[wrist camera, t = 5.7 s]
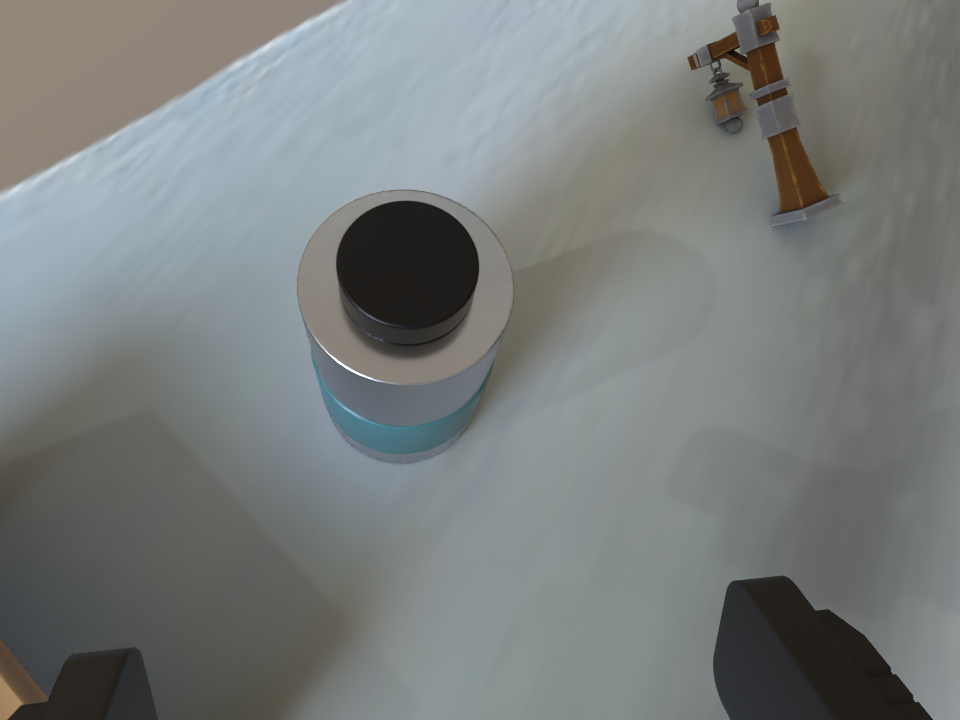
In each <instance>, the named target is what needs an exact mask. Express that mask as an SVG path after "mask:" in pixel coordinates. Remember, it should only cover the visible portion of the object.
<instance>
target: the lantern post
mask: <svg viewBox="0 0 960 720" xmlns="http://www.w3.org/2000/svg"><path fill="white" fill-rule="evenodd" d="M758 5H759V0H738V2H737V8H738V11H739V12H740V13H741V14H739V15H737V16H735V17H733V18H732V21H733V23H734V25H735V29H736V32H734V33H732V34H731V35H729V36H727V37H725V38H723V39H721V40H719V41H716V42H714V43H711V44H708V45H705V46H704V47H702V48H700V49H698V50H696V53H694V54H693V55H691V56H689V57H687V58H688V61H689V64H690V67H691V70H694V69H697V68H700V67H703V66H705V65H708V64H709V66H710V68H711V70H712V71H714V72H713V74H714V77H713V78H712V79H711V81H710V82H709V83H714V82H716V84H715V85H714V86H713V87H715V89H714V91H713V92H712V93H711V94H710V95H709V96H708V97H707V98H705V101H708V100H710V99H711V101H712V103H713V107H714V111H715V115H716V123H715V125H718V124H721V123H723V122H726V121H727V122H726V129H727V131H728V132H729V133H732V134H735V133H738V132H739V131H740V130H741V129H742V127H743V122H742V120H741V119H740V118H739V117H738V116H741V115H743V114H745V113H748V112H749V110H747V109H746V108H745V106H744V104H743V101H742V99H741V96H740V94H739V89H738V88H739V87H741V86H743V83H728V81H729V79H727V80H724V78H726V77H727V76H728V75H730V73H722V70H721V69H720V68H721V63H720V59H724V58H726V59H728V60H730V61H731V62H733V63H735V64H737V65H739V66H741V67H743V68H745V69H747V70H748V71H750V73H751V77H752V82H753V86H754V91H753V92H751V93H750V95H751V101H752V100H755V99H756V100H757V104H758V107H756V108H754V111H755V113H756V115H757V117H758V120H759V123H760V127H761V130H762V140H763V139H766V138H767V139H768V142H769V146H770V149H771V153H772V156H773V161H774V167H775V172H776V178H777V183H778V189H779V195H780V208H781V212H780V213H778V214H775V215H773V216H771V218H772V221H773V224H772V226H777V225H782V224H787V223H793V222H798V221H803V220H807V219H809V218H811V217H814V216H816V215H818V214H820V213H823V212H825V211H827V210H830V209H832V208H834V207H837V206H839V205H841V204H844V203H845V202H843V201H842V200H841V198H840V194H836V195H832V196H828V195H827V193H826V192H825V190H824V188H823V187H822V185H821V184H820V182H819V180H818V178H817V176H816V174H815V172H814V170H813V167H812V165H811V163H810V161H809V159H808V157H807V155H806V152H805V150H804V148H803V146H802V143H801V140H800V137H799V134H798V131H797V128H796V127H797V126H799V125H801V123H800V121H799V119H798V118H797V114H796V110H795V106H794V102H793V93H791V94H788V93H787V90H786V87H788V86H790V85H791V84H790V82H789V77H788V78H786V79H783V75H782V71H781V67H780V63H779V59H778V55H777V51H776V48H775V44H774V42H776V41H779V40H780V39H779V37H778V35H777V33H776V31H777V30H779V25H778V22H777V19H776V15H774V16H772V13H771V2H770V3H767V4H764V5H761V6H758ZM739 47H740V54H739V53H737V52H735V51H734V50H735V49H737V48H739ZM743 54H746V55H747V57H745V56H743ZM716 61H718V64H719V67H717V68H715V69H713V67H712V64H711V63H714V62H716ZM718 71H719V72H720V73H719V74H717V75H716V72H718Z"/></svg>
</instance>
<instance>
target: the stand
mask: <svg viewBox="0 0 960 720" xmlns="http://www.w3.org/2000/svg"><path fill="white" fill-rule="evenodd" d="M48 699H49V698H48V697H47V695H46V694H45V693H44V692H43V691H42V689H41V688H40V687H39V686H38V684H37V683H36V682H35V681H34V680H33V678H32V677H31V676H30V675H29V673H28V672H27V671H26V670H25V669H24V667H23V666H22V665H21V664H20V662H19V661H18V660H17V659H16V657H15V656H14V655H13V654H12V653H11V651H10V650H9V649H8V648H7V646H6V645H5V644H4V643H3V642H2V640H1V639H0V720H8V719H9V717H10V716H11V715H12V714H13V713H14V712H15V711H16V710H17V709H18V708H19V707H20V706H21V705H25V704H33V703H42V702H47V701H48Z"/></svg>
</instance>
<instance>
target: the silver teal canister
mask: <svg viewBox="0 0 960 720" xmlns="http://www.w3.org/2000/svg"><path fill="white" fill-rule="evenodd" d="M297 296H298V303H299V308H300V311H301V315H302V318H303V322H304V325H305V329H306V332H307V336H308V340H309V343H310V347H311V355H312V361H313V365H314V368H315V372H316V375H317V378H318V382H319V385H320V389H321V392H322V396H323V399H324V403H325V405H326V407H327V409H328V411H329V414H330V417H331V419H332V421H333V423H334V425H335V427H336V428H337V430H338V432H339V433H340V434H341V435H342V437H343V438H344V439H345V440H346V441H347V442H348V443H349V444H350V445H351V446H352V447H354V448H355V449H357V450H358V451H360V452H361V453H363V454H365V455H367V456H369V457H371V458H374V459H377V460H380V461H385V462H390V463H412V462H417V461H422V460H425V459H428V458H431V457H433V456H435V455H437V454H439V453H441V452H442V451H444V450H445V449H447V448H448V447H449V446H450V445H452V444H453V443H454V442H455V441H456V440H457V439H458V438H459V436H460V435H461V434H462V433H463V431H464V430H465V428H466V427H467V425H468V423H469V421H470V419H471V417H472V415H473V414H474V412H475V410H476V408H477V406H478V403H479V401H480V398H481V396H482V393H483V391H484V388H485V386H486V383H487V381H488V378H489V375H490V373H491V370H492V367H493V362H494V358H495V355H496V352H497V350H498V347H499V345H500V342H501V340H502V337H503V334H504V332H505V329H506V327H507V324H508V321H509V318H510V315H511V312H512V307H513V301H514V281H513V273H512V269H511V265H510V262H509V259H508V257H507V254H506V252H505V250H504V248H503V246H502V244H501V243H500V241H499V239H498V238H497V236H496V235H495V234H494V232H493V231H492V230H491V229H490V227H489V226H488V225H487V224H486V223H485V222H484V221H483V220H482V219H481V218H479V217H478V216H477V215H476V214H474V213H473V212H472V211H470V210H469V209H467V208H466V207H464V206H463V205H461V204H459V203H457V202H455V201H453V200H451V199H449V198H446V197H443V196H440V195H437V194H433V193H429V192H424V191H417V190H390V191H382V192H378V193H374V194H370V195H367V196H364V197H361V198H359V199H356V200H354V201H352V202H350V203H348V204H346V205H345V206H343V207H342V208H340V209H339V210H337V211H336V212H334V213H333V214H332V215H331V216H330V217H329V218H328V219H326V220H325V221H324V222H323V223H322V225H321V226H320V227H319V228H318V229H317V230H316V232H315V233H314V235H313V236H312V238H311V239H310V241H309V242H308V244H307V246H306V248H305V251H304V253H303V255H302V258H301V262H300V265H299V270H298V277H297Z"/></svg>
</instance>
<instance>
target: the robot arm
mask: <svg viewBox="0 0 960 720" xmlns="http://www.w3.org/2000/svg"><path fill="white" fill-rule="evenodd" d="M713 671H714V678H715V683H716V687H717V691H718V694H719V697H720V699H721V702H722V704H723V706H724V708H725V710H726V712H727V714H728V716H729V717H730V719H731V720H933V719H932V718H931V717H930V715H929V714H928V713H927V712H926V711H925V709H924V708H923V707H922V706H921V704H920V703H919V702H915V701H914V700H913V695H912V693H911V692H910V691H909V690H908V688H907V687H906V686H905V685H904V684H903V682H902V681H901V680H900V679H899V677H898V676H897V675H896V674H895V675H893V674H892V673H891V668H890V666H889V665H888V664H887V663H886V661H885V660H884V659H883V658H882V656H881V655H880V654H879V653H878V652H877V650H876V649H875V648H874V647H873V645H872V644H871V643H870V642H869V640H868V639H867V638H866V637H865V636H864V635H863V634H862V633H860V632H859V631H858V630H856V629H855V628H853V627H852V626H851V625H849V624H848V623H847V622H845V621H844V620H842V619H841V618H840V617H838V616H837V615H836V614H834V613H833V612H831V611H830V610H829V609H827V610H818V611H815V609H814V608H813V607H812V605H811V604H810V603H809V602H808V600H807V599H806V598H805V596H804V595H803V594H802V592H801V591H800V590H799V588H798V587H797V586H796V585H795V584H794V582H793V581H792V580H790V579H789V578H788V577H786V576H774V577H765V578H756V579H746V580H737V581H732V582H731V583H730V584H729V586H728V588H727V591H726V595H725V601H724V606H723V611H722V616H721V621H720V626H719V631H718V636H717V642H716V647H715V652H714V658H713ZM8 720H158V717H157V713H156V709H155V705H154V701H153V698H152V694H151V690H150V686H149V682H148V678H147V674H146V670H145V666H144V662H143V659H142V656H141V653H140V651H139V650H138V649H137V648H136V647H134V648H124V649H115V650H106V651H96V652H87V653H78V654H73V655H71V656H70V657H69V658H68V659H67V660H66V662H65V663H64V665H63V667H62V669H61V672H60V674H59V676H58V678H57V681H56V683H55V685H54V688H53V690H52V692H51V694H50V697H49V699H48V701H47V702H42V703H33V704H25V705H21V706H20V707H19V708H18V709H17V710H16V711H15V712H14V713H13V714H12V715H11V716H10V717H9V719H8Z"/></svg>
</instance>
